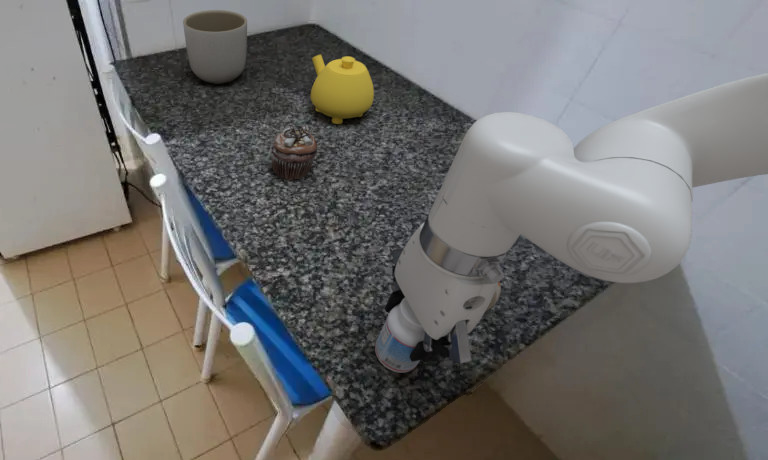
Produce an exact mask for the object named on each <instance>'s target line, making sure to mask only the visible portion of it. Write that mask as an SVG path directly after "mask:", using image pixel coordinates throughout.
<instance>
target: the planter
mask: <svg viewBox="0 0 768 460" xmlns="http://www.w3.org/2000/svg"><path fill="white" fill-rule="evenodd" d="M182 25H183V33H184V40H185V47H186V54H187V59H188V63H189V66H190V69H191V71H192V72H193V74H194V76H196V77H197V78H199V79H200V80H201V81H204V82H206V83H209V84H216V85H218V84H219V85H221V84H225V83H226V84H227V83H230V82H232V81H234V80H235V79H237V78H238V77H239V76H240V75H241V74H242V73H243V71H244V70H245V67H246V62H247V51H248V19H247V18H246V17H245V16H244V15H242V14H241V13H238V12H235V11H231V10H224V9H209V10H202V11H201V10H200V11H197V12H193V13H191V14H188V15H187V16H185V17H184V19H183V21H182Z"/></svg>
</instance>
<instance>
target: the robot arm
mask: <svg viewBox="0 0 768 460" xmlns="http://www.w3.org/2000/svg"><path fill="white" fill-rule="evenodd" d="M765 175H768V72H765V73H762V74H758V75H753V76H748V77H744V78H741V79H737V80H733V81H730V82H726V83H722V84H718V85H716V86H713V87H710V88H705V89H703V90H700V91H697V92H693V93H690V94H687V95H684V96H682V97H678V98H676V99H673V100H670V101H667V102H663V103H661V104H657V105H654V106H652V107H649V108H646V109H643V110H640V111H637V112H634V113H631V114H629V115H625V116H624V117H621V118H618V119H616V120H614V121H611V122H610V123H607V124H605V125H603V126H600V127H599V128H598V129H596V130H594V131H593V132H590V133H589V134H587V135H586V136H585V137H583V138H582V139H581V140H580V141H579V142H578V143H577V144H576V145H575V146H574V143H573V142H572V139H570V137H569V135H567V133H566V132H565V131H564V130H563V129H562V128H560V127H559V126H557V125H556V124H554V123H553V122H550V121H549V120H547V119H543V118H540V117H538V116H535V115H531V114H527V113H524V112H523V113H522V112H515V111H500V112H494V113H493V112H492V113H489V114H486V115H483V116H482V117H480V118H479V119H477V120H476V121H474V122H473V124H471V126H470V127H469V128H468V129H467V131H466V133H465V135H464V136H463V139H462V141H461V143H460V145H459V147H458V149H457V152H456V153H455V156H454V158H453V159H452V162H451V164H450V166H449V169H448V171H447V173H446V176H445V177H444V180H443V182H442V184H441V186H440V189H439V191H438V193H437V195H436V197H435V200H434V201H433V204H432V206H431V208H430V210H429V212H428V214H427V217H426V218H425V221H424V222H423V223H422V224H421V225H420V226H419V227H418V228H417V229H416V230H415V231H414V233H413V234H412V235H411V237H410V238H409V239H408V241H407V242H406V244H405V246H404V248H403V247H401V248H395V249H392V251H391V253H392V264H393V266H392V268H391V269H392V275H393V281H392V282H391V283H390V288H391V291H392V292H391V294H390V296H389V298H388V300H387V302H386V304H385V306H384V311H385V312H386V313H387V314H389V313H390V311H391V310H392V309H393V308H394V307H395V306H397V305H399V304H400V303H401V301H402V300H403V299H404V298H406V299H407V301H408V303H409V305H410V307H411V308H412V310H413V312H414V314H415V315H416V317H417V319H418V320H419V322H420V324H421V325H422V327H423V329H424V330H425V333H424V341H420V342H418V343H417V345H416V346H415V348H414V350H413V351H412V353H411V354H410V357H409V358H410V359H411V361H412V362H414V361H419V360H420V361H422V363H425V364H426V363H430V362H433V361H434V360H435V359H436V358H437V357H438V356H439V357H441V358H443V359H445V358H447V359H448V360H449V361H451V362H454V363H456V364H458V365H461V364H466V363H470V362H471V361H472V354H471V348H470V341H469V334H470V333H471V332H472V331H474V329H475V328H476V326H477V325H478V323H479V322H480V321H481V319H482V317H483V316H484V315H485V313H486V311H487V310H486V309H487V308H488V306H489V304H490V302H491V300H492V298H493V296H494V293H495V291H496V288H497V285H498V282H499V281H500V282H501V281H503V280H504V279H505V277H506V275H505V273H504V272H503V271H502V267H501V264H502V263H503V261H504V260H505V259H506V257H507V256H508V255H507V254H508V252H509V251H510V250H511V248H512V247H513V246H514V244H515V243H516V242H517V240H518V239H519V238H520V236H522V237H523V238H525V239H527V240H528V241H529V242H531V243H532V244H534V245H535V246H537V247H539V249H541V250H542V251H544V252H546V253H547V254H548V255H550V256H551V257H553V258H554V259H556V260H558V261H559V262H561V263H563V264H564V265H566V266H567V267H569V268H571V269H574V270H575V271H577V272H579V273H581V274H584V275H587V276H589V277H591V278H594V279H597V280H601V281H606V282H611V283H617V284H618V283H619V284H638V283H644V282H650V281H653V280H656V279H658V278H660V277H662V276H665V275H667V274H669V273H670V272H671V271H674V269H675V268H676V267H677V266H678V265H679V264H681V262H682V261H683V260H684V258H685V257H686V255H687V253H688V251H689V249H690V246H691V241H692V237H693V236H692V235H693V200H694V199H693V197H694V196H693V195H694V194H693V191H694V190H693V189H694V188H697V187H702V186H707V185H712V184H717V183H722V182H728V181H733V180H738V179H744V178H750V177H757V176H765ZM420 361H419V362H420Z"/></svg>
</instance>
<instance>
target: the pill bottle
mask: <svg viewBox="0 0 768 460" xmlns="http://www.w3.org/2000/svg"><path fill="white" fill-rule="evenodd" d="M424 333H425V330H424V329H423V327H422V325H421V324H420V322H419V320H418V319H417V317H416V315H415V314H414V312H413V310H412V308H411V307H410V305H409V303H408V301H407V299H406V298H404V299H403V300H402V301H401V303H400V304H399V305H397V306H395V307H394V308H393V309H392V310H391V311H390V313H388V315H387V317H386V320H385V321H384V323H383V326H382V327H381V329H380V332H379V335H378V336H377V339H376V341H375V344H374V352H375V355H376V357H377V359H378V361H379V362H380V364H382V366H384V368H387V369H388V370H390V371H392V372H395V373H400V374H402V373H403V374H404V373H408V372H411V371H412V370H414V369H415V368H416V367H417V366H418V364H419V363H420V362H421V360H419V361H414V362H412V361H411V359H410V358H409V357H410V354H411V353H412V351H413V350H414V348H415V346H416V345H417V343H418V342H420V341H424Z"/></svg>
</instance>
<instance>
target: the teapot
mask: <svg viewBox="0 0 768 460" xmlns="http://www.w3.org/2000/svg"><path fill="white" fill-rule="evenodd" d="M311 60H312V64H313V66H314V70H315V72H316V73H315V74H316V78H315V81H314V82H313V85H312V87H311V90H310V95H309V96H310V101H311V103H312V104H313V106H314V107H315V111H316V112H318V113H321V114H323V115H325V116H328V117H330V118H331V122H332V124H335V125H341V124H342V123H343V122H344V120H345V119H353V118H361V117H363V115H364V114H365V112H367V111H368V110H369V109H370V108H371V107H372V105H373V102H374V96H375V91H374V89H375V88H374V84H373V81H372V78H371V75H370V71H369V70H368V68H367V67H366V65H365V64H363V63H362V62H361V61H358V60H356V58H355V57H353V56H349V55H348V56H347V55H346V56H342V57H341V58H338V59H333V60H331V61H329V62H328V63H326V65H325V62H324V59H323V55H322V54H317V55H315V56H313V57H311Z"/></svg>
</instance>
